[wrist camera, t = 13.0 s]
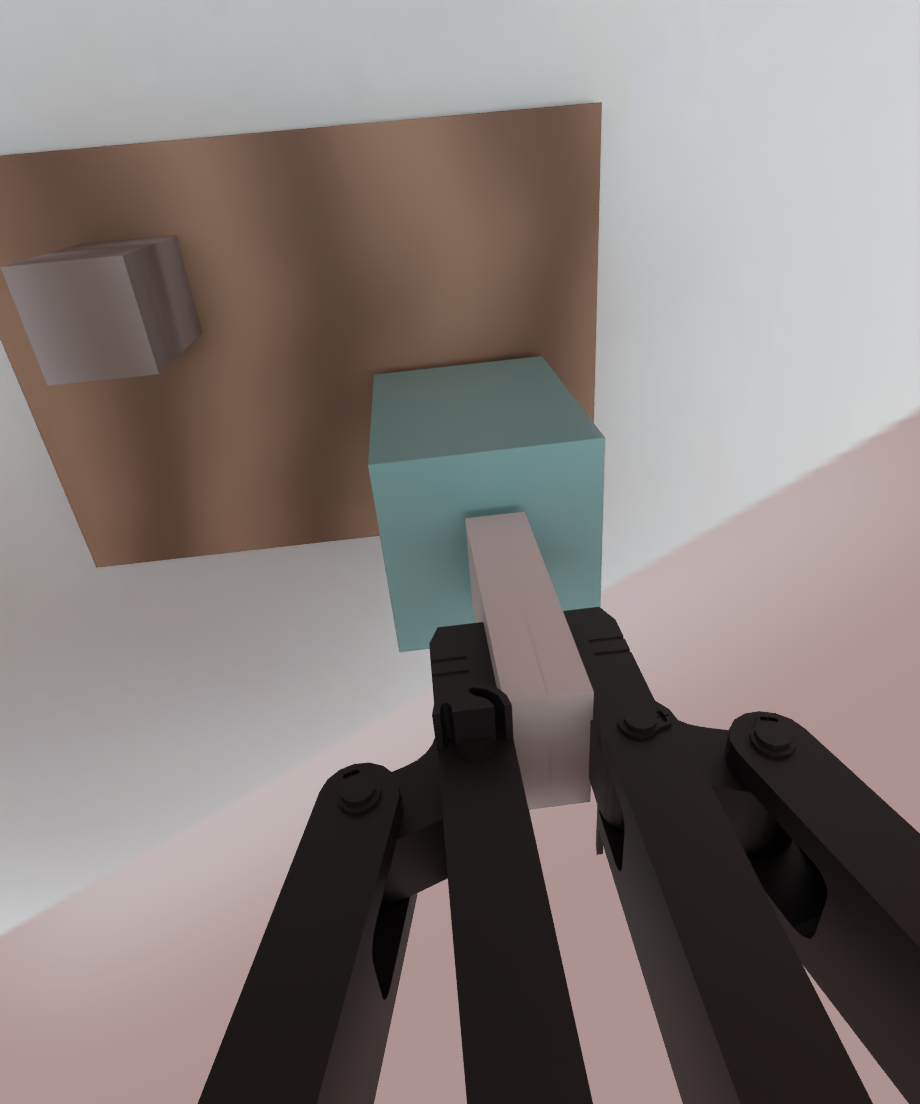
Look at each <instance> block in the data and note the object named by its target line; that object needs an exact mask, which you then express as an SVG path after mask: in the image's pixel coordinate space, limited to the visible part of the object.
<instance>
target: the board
mask: <svg viewBox="0 0 920 1104" xmlns="http://www.w3.org/2000/svg"><path fill="white" fill-rule="evenodd" d="M601 113H602V102H600V103H589V104H577V105H566V106H555V107H544V108H532V109H521V110H510V111H498V112H487V113H476V114H465V115H453V116H442V117H431V118H420V119H408V120H397V121H386V122H375V123H363V124H352V125H341V126H330V127H318V128H307V129H296V130H285V131H273V132H262V133H251V134H240V135H228V136H217V137H206V138H195V139H183V140H172V141H161V142H150V143H138V144H127V145H116V146H105V147H93V148H82V149H71V150H60V151H48V152H37V153H26V154H14V155H3V156H0V339H1V342H2V344H3V346H4V349H5V351H6V353H7V356H8V358H9V361H10V363H11V365H12V368H13V370H14V372H15V375H16V377H17V380H18V382H19V384H20V387H21V389H22V391H23V394H24V396H25V399H26V401H27V403H28V406H29V408H30V410H31V413H32V415H33V418H34V420H35V422H36V425H37V427H38V429H39V432H40V434H41V437H42V439H43V441H44V444H45V446H46V448H47V451H48V453H49V456H50V458H51V460H52V463H53V465H54V467H55V470H56V472H57V475H58V477H59V479H60V482H61V484H62V487H63V489H64V491H65V494H66V496H67V498H68V501H69V503H70V506H71V508H72V510H73V513H74V515H75V517H76V520H77V522H78V525H79V527H80V529H81V532H82V534H83V536H84V539H85V541H86V544H87V546H88V548H89V551H90V553H91V555H92V558H93V560H94V563H95V565H96V567H105V566H114V565H123V564H132V563H141V562H149V561H158V560H167V559H176V558H185V557H194V556H203V555H212V554H220V553H229V552H238V551H247V550H256V549H265V548H274V547H282V546H291V545H300V544H309V543H318V542H327V541H336V540H345V539H353V538H362V537H371V536H380V533H379V527H378V521H377V515H376V509H375V503H374V497H373V491H372V486H371V480H370V474H369V468H368V458H369V443H370V428H371V413H372V398H373V382H374V375H376V374H385V373H394V372H403V371H412V370H421V369H430V368H439V367H448V366H457V365H466V364H475V363H484V362H493V361H502V360H511V359H520V358H529V357H538V356H543V358H544V359H545V360H546V362H547V363H548V364H549V366H550V367H551V368H552V369H553V371H554V372H555V373H556V375H557V376H558V377H559V379H560V380H561V381H562V383H563V384H564V385H565V386H566V388H567V389H568V390H569V392H570V393H571V394H572V396H573V397H574V398H575V399H576V401H577V402H578V403H579V405H580V406H581V407H582V409H583V410H584V411H585V412H586V414H587V415H588V416H589V418H590V419H591V420H592V422H593V423H594V388H595V349H596V309H597V270H598V231H599V191H600V152H601Z"/></svg>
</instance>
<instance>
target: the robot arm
mask: <svg viewBox="0 0 920 1104" xmlns="http://www.w3.org/2000/svg"><path fill="white" fill-rule="evenodd" d="M465 523H466V535H467V547H468V559H469V571H470V583H471V595H472V607H473V613H474V618H475V623H470V624H461V625H453V626H444V627H437V629H436V631H435V633H434V635H433V637H432V639H431V641H430V643H429V646H430V658H431V670H432V682H433V694H434V708H433V714H432V717H433V724H434V731H435V739H434V742H433V744H432V746H431V747H430V748H429V750H428V751H427V752H426V754H424V755H423V756H422V757H421V758H419V759H418V760H417V761H415V762H413V763H411V764H409V765H407V766H405V767H403V768H400V769H398V770H396V771H393V772H391V771H389V770H388V769H387V768H385V767H384V766H381V765H377V764H373V763H361V764H353V765H351V766H348V767H346V768H344V769H341V770H339V771H338V772H337V773H335V774H334V775H333V776H332V777H330V778H329V779H328V780H327V781H326V783H325V784H324V786H323V787H322V789H321V791H320V792H319V795H318V798H317V800H316V803H315V805H314V808H313V810H312V813H311V816H310V818H309V820H308V823H307V826H306V828H305V831H304V834H303V836H302V838H301V841H300V843H299V846H298V849H297V851H296V854H295V856H294V859H293V862H292V864H291V866H290V869H289V872H288V874H287V877H286V879H285V882H284V884H283V887H282V889H281V892H280V895H279V897H278V900H277V902H276V905H275V908H274V910H273V913H272V915H271V918H270V920H269V923H268V926H267V928H266V930H265V933H264V935H263V938H262V941H261V943H260V946H259V949H258V951H257V954H256V956H255V958H254V961H253V964H252V966H251V969H250V971H249V974H248V977H247V979H246V981H245V984H244V987H243V989H242V992H241V994H240V997H239V999H238V1002H237V1004H236V1007H235V1010H234V1012H233V1015H232V1017H231V1020H230V1022H229V1025H228V1027H227V1030H226V1033H225V1035H224V1038H223V1040H222V1043H221V1045H220V1048H219V1051H218V1053H217V1056H216V1058H215V1061H214V1063H213V1066H212V1069H211V1071H210V1074H209V1076H208V1079H207V1081H206V1084H205V1086H204V1089H203V1091H202V1094H201V1097H200V1099H199V1102H198V1104H374V1100H375V1095H376V1090H377V1085H378V1081H379V1076H380V1071H381V1066H382V1061H383V1057H384V1052H385V1047H386V1042H387V1037H388V1033H389V1028H390V1023H391V1019H392V1013H393V1009H394V1004H395V999H396V995H397V990H398V985H399V980H400V975H401V971H402V966H403V961H404V956H405V951H406V946H407V942H408V937H409V932H410V927H411V922H412V918H413V913H414V908H415V903H416V899H417V893H418V892H420V891H422V890H424V889H426V888H428V887H431V886H432V885H435V884H437V883H439V882H441V881H443V880H445V879H447V878H448V885H449V895H450V896H449V897H450V909H451V920H452V932H453V944H454V955H455V967H456V979H457V991H458V1002H459V1013H460V1026H461V1036H462V1049H463V1061H464V1072H465V1084H466V1096H467V1104H593V1102H592V1097H591V1093H590V1088H589V1084H588V1079H587V1074H586V1070H585V1065H584V1061H583V1056H582V1052H581V1047H580V1043H579V1038H578V1033H577V1029H576V1024H575V1019H574V1015H573V1010H572V1006H571V1001H570V997H569V992H568V988H567V983H566V978H565V973H564V969H563V964H562V960H561V955H560V950H559V946H558V942H557V937H556V932H555V928H554V923H553V918H552V914H551V910H550V905H549V900H548V895H547V891H546V886H545V882H544V877H543V873H542V868H541V863H540V859H539V854H538V850H537V845H536V840H535V836H534V831H533V827H532V822H531V817H530V813H529V810H530V809H537V808H545V807H553V806H561V805H568V804H576V803H584V802H590V793H591V786H592V789H593V792H594V795H595V798H596V801H597V804H598V805H597V830H596V850H597V855H598V854H603V846H604V849H605V853H606V856H607V859H608V862H609V865H610V869H611V872H612V875H613V878H614V882H615V885H616V888H617V891H618V895H619V898H620V901H621V904H622V907H623V911H624V914H625V917H626V921H627V924H628V927H629V930H630V933H631V937H632V940H633V943H634V947H635V950H636V953H637V956H638V960H639V963H640V966H641V969H642V973H643V976H644V979H645V982H646V985H647V989H648V992H649V995H650V998H651V1002H652V1005H653V1008H654V1011H655V1015H656V1018H657V1021H658V1024H659V1028H660V1031H661V1034H662V1037H663V1041H664V1044H665V1047H666V1050H667V1053H668V1057H669V1060H670V1063H671V1067H672V1070H673V1073H674V1076H675V1080H676V1083H677V1086H678V1089H679V1092H680V1096H681V1099H682V1102H683V1104H873V1103H872V1101H871V1099H870V1097H869V1095H868V1093H867V1091H866V1089H865V1087H864V1085H863V1083H862V1081H861V1079H860V1077H859V1076H858V1074H857V1071H856V1070H855V1068H854V1066H853V1064H852V1062H851V1060H850V1058H849V1056H848V1054H847V1052H846V1050H845V1048H844V1046H843V1044H842V1042H841V1040H840V1038H839V1036H838V1034H837V1032H836V1030H835V1028H834V1026H833V1024H832V1022H831V1020H830V1018H829V1016H828V1015H827V1012H826V1011H825V1009H824V1007H823V1005H822V1003H821V1001H820V999H819V997H818V995H817V993H816V991H815V989H814V987H813V985H812V983H811V981H810V979H809V977H808V975H807V973H806V971H805V969H804V967H805V968H806V969H807V971H808V972H809V973H810V974H811V976H812V977H813V979H814V980H815V981H816V983H817V984H818V985H819V987H820V988H821V989H822V991H823V992H824V993H825V994H826V995H827V997H828V998H829V1000H830V1001H831V1002H832V1004H833V1005H834V1006H835V1007H836V1009H837V1010H838V1011H839V1013H840V1014H841V1015H842V1017H843V1018H844V1019H845V1021H846V1022H847V1023H848V1024H849V1026H850V1027H851V1028H852V1030H853V1031H854V1032H855V1034H856V1035H857V1036H858V1038H859V1039H860V1040H861V1042H862V1043H863V1044H864V1045H865V1047H866V1048H867V1049H868V1051H869V1052H870V1053H871V1055H872V1056H873V1057H874V1058H875V1060H876V1061H877V1062H878V1064H879V1065H880V1066H881V1068H882V1069H883V1070H884V1071H885V1073H886V1074H887V1076H888V1077H889V1078H890V1079H891V1081H892V1082H893V1083H894V1085H895V1086H896V1087H897V1089H898V1090H899V1091H900V1093H901V1094H902V1095H903V1096H904V1098H905V1099H906V1100H907V1102H908V1103H909V1104H920V833H919V832H917V831H916V830H915V829H914V828H913V827H912V826H911V825H910V824H909V823H908V822H906V821H905V820H904V819H903V818H902V817H901V816H900V815H899V814H898V813H897V812H896V811H894V810H893V809H892V808H891V807H890V806H889V805H888V804H887V803H886V802H885V801H883V800H882V799H881V798H880V797H879V796H878V795H877V794H876V793H875V792H874V791H873V790H871V789H870V788H869V787H868V786H867V785H866V784H865V783H864V782H863V781H862V780H860V779H859V778H858V777H857V776H856V775H855V774H854V773H853V772H852V771H851V770H850V769H849V768H847V767H846V766H845V765H844V764H843V763H842V762H841V761H840V760H839V759H838V758H837V757H835V756H834V755H833V754H832V753H831V752H830V751H829V750H828V749H827V748H826V747H825V746H823V745H822V744H821V743H820V742H819V741H818V740H817V739H816V738H815V737H814V736H812V735H811V734H810V733H809V732H808V731H807V730H806V729H805V728H803V727H802V726H800V725H799V724H798V723H796V722H794V721H793V720H792V719H789V718H787V717H784V716H781V715H778V714H776V713H769V712H760V711H758V712H752V713H746V714H743V715H742V716H740V717H738V718H737V719H735V720H734V721H733V723H732V725H731V727H730V729H729V730H721V729H713V728H706V727H699V726H694V725H689V724H686V723H684V722H681V721H679V720H677V718H676V717H675V716H674V715H673V713H672V712H671V711H670V710H669V709H668V708H666V707H665V706H663V705H661V704H659V703H658V702H656V701H655V700H654V698H653V696H652V694H651V692H650V690H649V688H648V686H647V683H646V681H645V680H644V677H643V676H642V673H641V671H640V669H639V667H638V665H637V663H636V661H635V659H634V657H633V655H632V653H631V652H630V649H629V647H628V645H627V643H626V641H625V639H623V634H622V632H621V630H620V628H619V626H618V624H617V622H616V620H615V619H614V618H613V617H611V616H610V615H609V614H607V613H606V612H605V611H604V610H603V609H601V608H600V607H592V608H583V609H575V610H566V611H563V610H562V608H561V605H560V602H559V600H558V597H557V595H556V592H555V589H554V587H553V584H552V582H551V579H550V576H549V574H548V571H547V569H546V566H545V563H544V561H543V558H542V555H541V553H540V550H539V548H538V545H537V542H536V540H535V537H534V535H533V532H532V529H531V527H530V524H529V521H528V519H527V516H526V514H525V512H517V513H508V514H499V515H490V516H481V517H473V518H465ZM802 964H803V965H802ZM803 966H804V967H803Z"/></svg>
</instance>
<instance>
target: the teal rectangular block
mask: <svg viewBox="0 0 920 1104" xmlns="http://www.w3.org/2000/svg"><path fill="white" fill-rule="evenodd" d="M604 451H605V437H604V436H603V435H602V433H601V432H600V431H599V429H598V428H597V427H596V426H595V424H594V423H593V422H592V420H591V419H590V418H589V416H588V415H587V414H586V412H585V411H584V410H583V409H582V407H581V406H580V405H579V403H578V402H577V401H576V399H575V398H574V397H573V396H572V394H571V393H570V392H569V390H568V389H567V388H566V386H565V385H564V384H563V383H562V381H561V380H560V379H559V377H558V376H557V375H556V373H555V372H554V371H553V369H552V368H551V367H550V366H549V364H548V363H547V362H546V360H545V359H544V358H543V356H538V357H529V358H520V359H511V360H502V361H493V362H484V363H475V364H466V365H457V366H448V367H439V368H430V369H421V370H412V371H403V372H394V373H385V374H376V375H374V382H373V398H372V413H371V428H370V443H369V458H368V468H369V474H370V480H371V486H372V491H373V497H374V503H375V509H376V515H377V521H378V527H379V533H380V539H381V545H382V551H383V557H384V563H385V569H386V574H387V580H388V586H389V592H390V598H391V604H392V610H393V616H394V622H395V628H396V634H397V640H398V646H399V652H405V651H413V650H421V649H429V648H430V646H429V643H430V641H431V639H432V637H433V635H434V633H435V631H436V629H437V627H444V626H453V625H461V624H470V623H475V618H474V613H473V607H472V595H471V583H470V571H469V559H468V547H467V535H466V523H465V518H473V517H481V516H490V515H499V514H508V513H517V512H525V514H526V516H527V519H528V521H529V524H530V527H531V529H532V532H533V535H534V537H535V540H536V542H537V545H538V548H539V550H540V553H541V555H542V558H543V561H544V563H545V566H546V569H547V571H548V574H549V576H550V579H551V582H552V584H553V587H554V589H555V592H556V595H557V597H558V600H559V602H560V605H561V608H562V610H563V611H566V610H575V609H583V608H592V607H600V598H601V561H602V524H603V488H604Z"/></svg>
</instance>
